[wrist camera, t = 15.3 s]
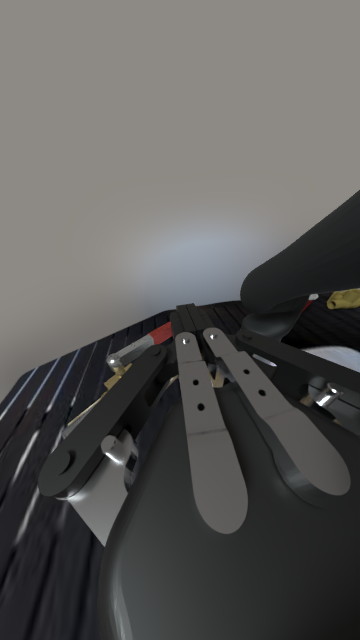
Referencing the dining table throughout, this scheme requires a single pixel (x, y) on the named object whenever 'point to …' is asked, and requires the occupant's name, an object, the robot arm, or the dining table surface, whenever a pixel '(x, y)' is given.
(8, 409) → the dining table surface
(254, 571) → the robot arm
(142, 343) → the valve lever
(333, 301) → the ball valve
